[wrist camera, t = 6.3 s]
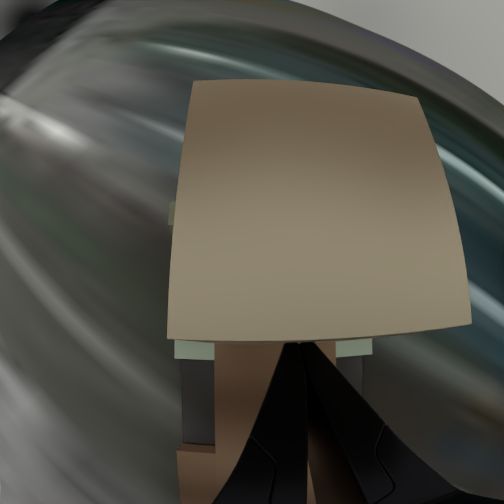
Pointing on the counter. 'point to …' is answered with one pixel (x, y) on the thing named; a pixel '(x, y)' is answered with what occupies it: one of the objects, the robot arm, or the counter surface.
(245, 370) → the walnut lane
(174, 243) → the beech block
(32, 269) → the counter surface
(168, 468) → the counter surface
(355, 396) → the robot arm
